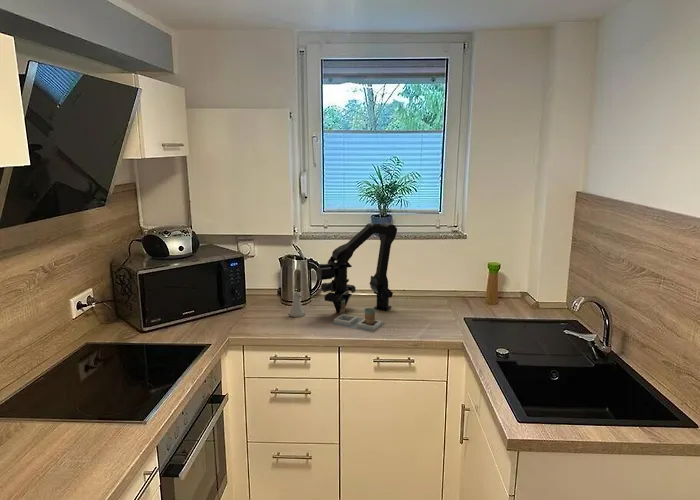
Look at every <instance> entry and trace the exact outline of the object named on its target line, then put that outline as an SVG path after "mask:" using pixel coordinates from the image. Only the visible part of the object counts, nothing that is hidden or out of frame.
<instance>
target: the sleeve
mask: <svg viewBox="0 0 700 500" xmlns="http://www.w3.org/2000/svg"><path fill="white" fill-rule="evenodd" d="M341 299H343V298H341ZM335 313H336V314H338V315H341V314H345V313H346V307H345V299H344V300H343V303H342V306H341V309H340V312H339V313H337V312H336V311H335Z"/></svg>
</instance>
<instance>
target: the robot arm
mask: <svg viewBox="0 0 700 500" xmlns="http://www.w3.org/2000/svg"><path fill="white" fill-rule="evenodd" d="M397 232H398V228H397V226H396V225H394V224H392V223H390V222H383V223H367V224H366V225H365V227H363V228H362V229H361V230H360V231H359V232H358V233H356V234H355V235H354V236H353V237H351V238H350V240H348V242H346V243H344V244H342V245H339V246H337V248H335V249H334V250H333V251H332V252H331V253H332V254H331V256H330V258H329V259H328V261H327V263H319V264H318V266H317V267H316V272H315V273H316V277H317V278H316V279H317V280H318V281H324V280H331V281H330V282H324V283H321V285H320V290H321V291H322V292H323V293H326V292H327V293H326V294H325V295H324V301H325V302H330V303H333V305H334V309H335V313H336V312H337V313H336V314H338V313H339V312H340V309H341V306H342V303H343V300H344V299H345V308H346V307H347V305H348V303H349V301H350V298H351V296H353V295H352V294H354V293H355V292H356V286H355V285H353V284H348V283H349V282H350V279H349V278H348V268H352V265H351V264H350V262H349V260H350V259H351V258H352V256H353V255H354V252H355V251H356V250H357V249H358V248H359V247H361V246H362V245H363V244H364V243H365V242H366V241H367V240H368V239H369V238H370V237H372V236H373V235H374V234H377V235H378V237H379V241H380V244H379V249H378V250H379V252H378V257H377V264H376V271H375V274H374V275H370V280H369V281H370V282H369V285H370V289H371V290H372V291H373V293H374V294H375V295H376V302H375V303H376V304H375V306H374V307H373V309H375V310H379V311H383V312H387V311H388V310H389V309H391V308H392V305H390V298H393V294H394V292H393V291H391V289H389V280H388V276H387V274H388V267H389V261H390V260H389V259H390V256H391V255H390V254H391V253H390V252H391V248H392V244H393V242H394V241H395V239H396V238H397V237H396V236H397ZM349 291H350V292H351V293H350V292H349ZM341 298H343V299H341Z"/></svg>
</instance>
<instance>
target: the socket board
mask: <svg viewBox="0 0 700 500" xmlns="http://www.w3.org/2000/svg"><path fill="white" fill-rule="evenodd" d="M330 325H331V326H332V325H333V326H338V327H341V328H342V327H343V328H349V329H352V330H358V331H363V332H366V333H367V332H368V333H375V332H376V331H378V330H379V329H380V328H382V327H383V326H384V325H386V322H383V321H382V320H379V319H375V325H373V326H372V325H367V324H365V318H360V317H359V316H356V315H350V314H345V313H343V314H339V315H338V316H337V317H335V318H334V319H333V321H332V322H331V323H330Z"/></svg>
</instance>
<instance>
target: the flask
mask: <svg viewBox="0 0 700 500" xmlns="http://www.w3.org/2000/svg"><path fill="white" fill-rule="evenodd" d="M292 295H293V300H292V303H291V307H290V309H289V312H288V315H289V317H293V318H300V317H301V318H302V317H304V316H305V315H306V314H305V311H304V308H303V306H302V303H301V298H300V297H301V296H300V295H301V292H298V291H297V292H296V291H295V292H292Z"/></svg>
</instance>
